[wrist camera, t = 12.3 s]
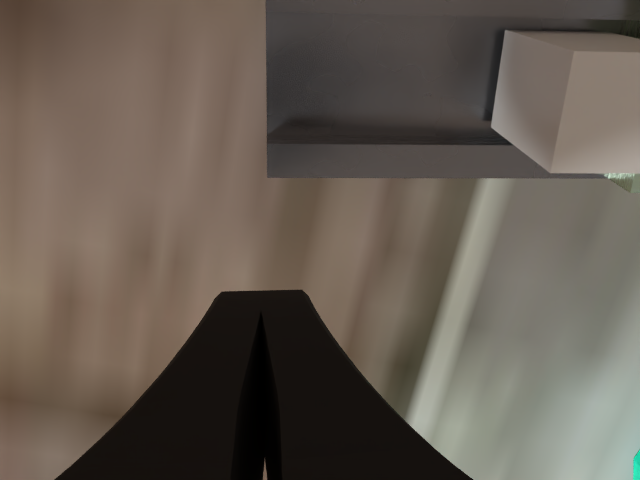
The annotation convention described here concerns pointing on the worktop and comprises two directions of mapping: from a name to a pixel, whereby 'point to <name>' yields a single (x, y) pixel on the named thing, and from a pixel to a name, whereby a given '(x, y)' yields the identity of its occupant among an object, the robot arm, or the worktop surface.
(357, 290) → the worktop surface
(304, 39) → the slider track
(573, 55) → the slider
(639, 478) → the candle
